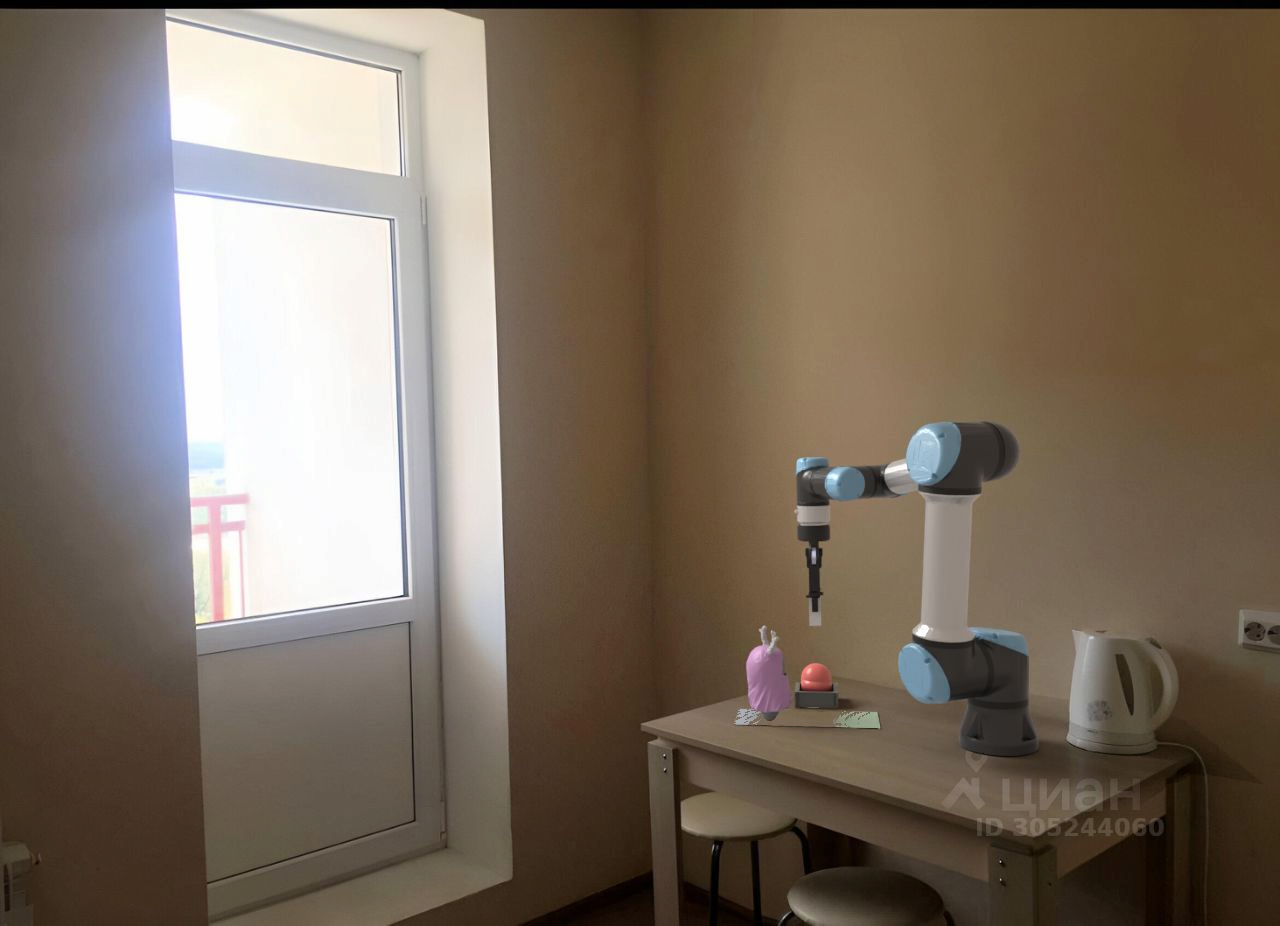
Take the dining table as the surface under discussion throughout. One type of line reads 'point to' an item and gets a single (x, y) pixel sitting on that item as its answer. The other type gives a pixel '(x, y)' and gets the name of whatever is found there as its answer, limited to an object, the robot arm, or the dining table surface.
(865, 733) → the dining table surface
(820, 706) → the dome housing
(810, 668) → the dome button
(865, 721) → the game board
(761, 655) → the toy character
